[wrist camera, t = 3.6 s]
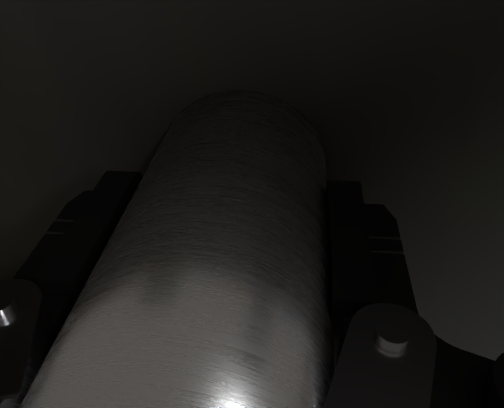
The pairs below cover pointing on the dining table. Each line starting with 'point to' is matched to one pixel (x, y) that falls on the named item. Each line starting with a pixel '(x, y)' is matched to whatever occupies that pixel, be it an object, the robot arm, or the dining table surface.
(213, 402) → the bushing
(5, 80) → the dining table surface
